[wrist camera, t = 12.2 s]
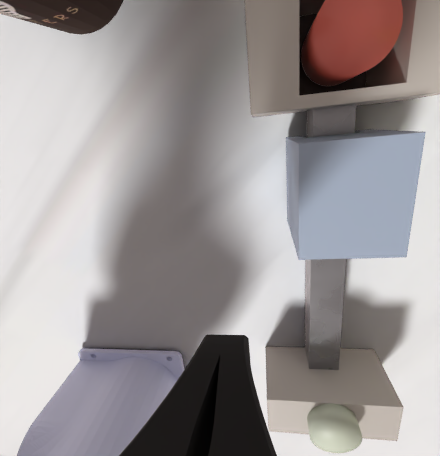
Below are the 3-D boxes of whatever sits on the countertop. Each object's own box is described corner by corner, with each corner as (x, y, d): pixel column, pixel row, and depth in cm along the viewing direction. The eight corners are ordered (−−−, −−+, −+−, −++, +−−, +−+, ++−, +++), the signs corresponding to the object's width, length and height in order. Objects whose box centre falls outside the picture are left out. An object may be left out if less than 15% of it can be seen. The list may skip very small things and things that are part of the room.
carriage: (287, 219, 17) (298, 259, 12) (286, 137, 16) (298, 143, 10) (361, 216, 17) (406, 257, 11) (368, 129, 15) (425, 131, 10)
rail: (304, 347, 21) (308, 368, 19) (306, 111, 15) (313, 109, 13) (331, 348, 21) (338, 370, 19) (344, 106, 15) (356, 104, 13)
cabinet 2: (267, 374, 23) (269, 447, 17) (265, 346, 22) (267, 414, 16) (370, 379, 21) (404, 459, 16) (373, 349, 20) (412, 424, 15)
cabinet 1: (253, 117, 16) (251, 114, 12) (247, 13, 14) (242, -34, 10) (404, 100, 14) (462, 90, 10) (418, -17, 13) (495, -85, 9)
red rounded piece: (300, 89, 14) (313, 79, 11) (301, 19, 13) (315, -17, 10) (363, 82, 13) (397, 68, 10) (369, 8, 12) (408, -34, 9)
